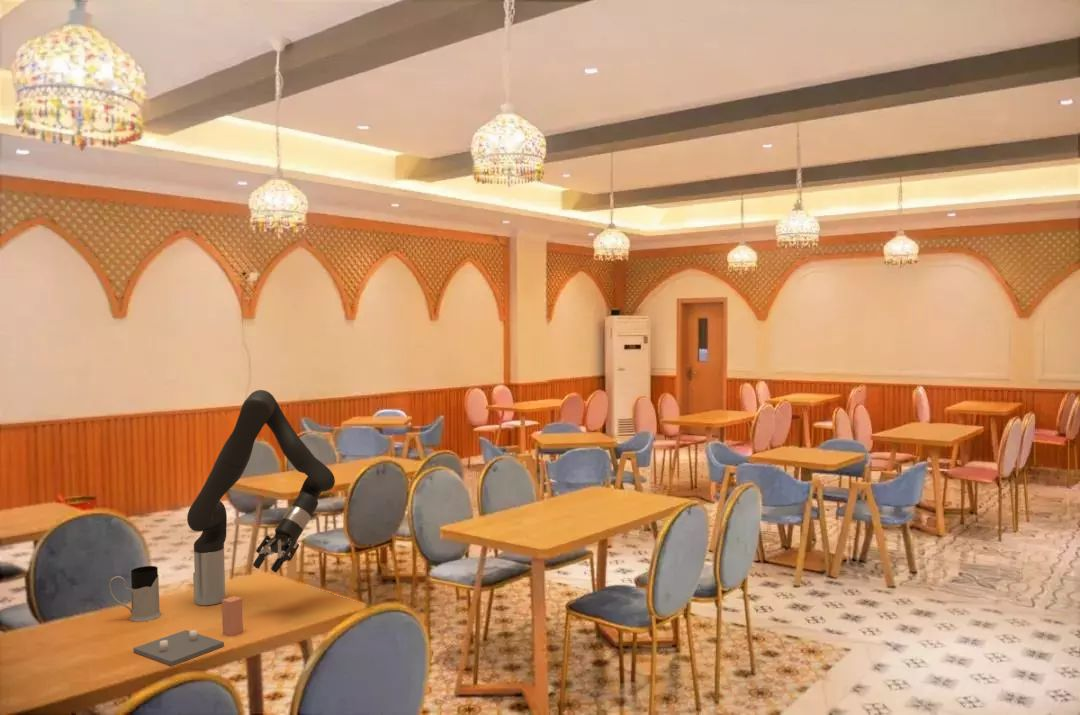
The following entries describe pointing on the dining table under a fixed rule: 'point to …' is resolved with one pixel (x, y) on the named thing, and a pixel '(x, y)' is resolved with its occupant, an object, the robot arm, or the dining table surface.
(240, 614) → the block
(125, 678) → the dining table surface
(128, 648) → the dining table surface
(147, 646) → the base plate
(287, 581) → the dining table surface
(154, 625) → the dining table surface
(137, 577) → the glass holder
